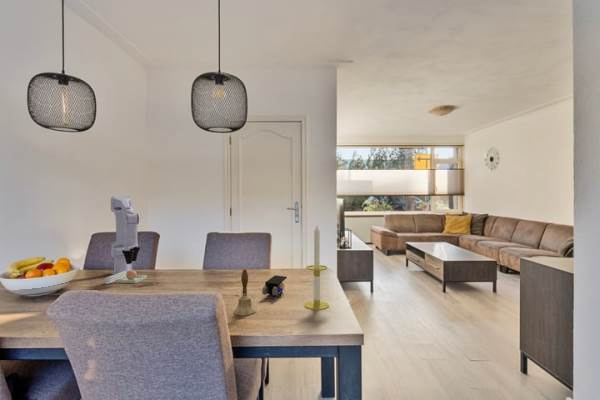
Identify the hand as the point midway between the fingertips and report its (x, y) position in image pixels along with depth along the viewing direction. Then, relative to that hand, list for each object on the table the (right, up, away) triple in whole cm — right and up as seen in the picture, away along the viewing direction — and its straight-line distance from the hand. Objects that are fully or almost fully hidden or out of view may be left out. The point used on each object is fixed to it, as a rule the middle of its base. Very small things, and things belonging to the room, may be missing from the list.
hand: (131, 262), depth 171 cm
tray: (0, -9, 0) cm, 9 cm away
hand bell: (+68, -10, -48) cm, 84 cm away
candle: (+96, -10, -41) cm, 104 cm away
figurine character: (+78, -10, -27) cm, 83 cm away
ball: (0, -9, 0) cm, 9 cm away
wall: (-8, -9, +1) cm, 13 cm away
